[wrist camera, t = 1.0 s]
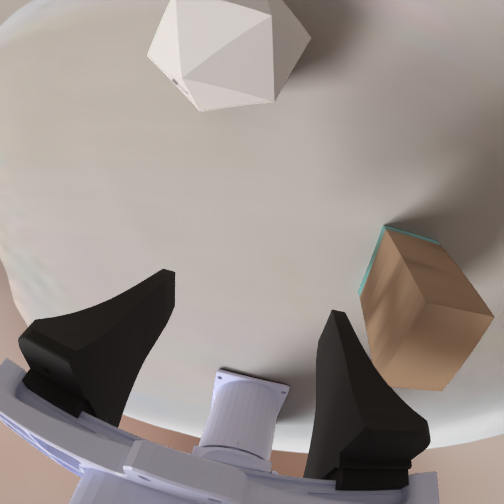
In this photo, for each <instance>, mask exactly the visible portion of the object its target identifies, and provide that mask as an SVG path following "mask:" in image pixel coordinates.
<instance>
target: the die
mask: <svg viewBox="0 0 504 504" xmlns="http://www.w3.org/2000/svg"><path fill="white" fill-rule="evenodd" d="M310 40H311V36H310V35H309V34H308V32H307V31H306V30H305V28H304V27H303V26H302V24H301V23H300V22H299V20H298V19H297V18H296V16H295V15H294V14H293V12H292V11H291V10H290V9H289V7H288V6H287V5H286V4H285V2H284V1H283V0H170V2H169V4H168V7H167V9H166V11H165V13H164V15H163V18H162V20H161V22H160V25H159V27H158V29H157V32H156V34H155V37H154V39H153V42H152V44H151V47H150V49H149V52H148V55H147V56H148V57H149V58H150V59H151V60H152V61H153V62H154V64H155V65H156V66H157V67H158V68H159V69H160V70H161V71H162V72H163V73H164V74H165V75H166V76H167V77H168V78H169V79H170V80H171V81H172V82H173V83H174V84H175V85H176V86H177V87H178V88H179V89H180V90H181V91H182V93H183V94H184V95H185V96H186V97H187V98H188V99H189V100H190V101H191V102H192V103H193V104H194V105H195V106H196V108H197V109H198V110H199V111H200V112H202V111H208V110H214V109H221V108H228V107H235V106H243V105H252V104H261V103H271V102H275V100H276V98H277V97H278V95H279V93H280V91H281V89H282V88H283V86H284V84H285V82H286V81H287V79H288V77H289V75H290V74H291V72H292V70H293V69H294V67H295V65H296V63H297V62H298V60H299V58H300V57H301V55H302V53H303V51H304V50H305V48H306V46H307V45H308V43H309V41H310Z"/></svg>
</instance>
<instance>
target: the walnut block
mask: <svg viewBox="0 0 504 504" xmlns="http://www.w3.org/2000/svg"><path fill="white" fill-rule="evenodd" d="M358 292H359V296H360V301H361V305H362V310H363V315H364V320H365V325H366V330H367V335H368V341H369V346H370V352H371V358H372V363H373V365H374V366H375V368H376V369H377V371H378V372H379V373H380V375H381V376H382V377H383V379H384V380H385V381H386V382H387V384H388V385H389V386H390V387H397V388H408V389H419V390H433V391H442V390H443V389H444V388H445V387H446V385H447V384H448V383H449V382H450V380H451V379H452V378H453V377H454V375H455V374H456V373H457V371H458V370H459V369H460V368H461V366H462V365H463V363H464V362H465V361H466V359H467V358H468V357H469V355H470V354H471V352H472V351H473V349H474V348H475V347H476V345H477V344H478V342H479V341H480V339H481V338H482V336H483V335H484V333H485V331H486V330H487V328H488V327H489V325H490V323H491V322H492V320H493V318H494V316H493V314H492V313H491V311H490V310H489V308H488V307H487V305H486V304H485V302H484V301H483V300H482V298H481V297H480V295H479V294H478V293H477V291H476V290H475V288H474V287H473V286H472V284H471V283H470V282H469V280H468V279H467V278H466V276H465V275H464V274H463V272H462V271H461V270H460V269H459V267H458V266H457V265H456V263H455V262H454V261H453V260H452V258H451V257H450V256H449V255H448V254H447V252H446V251H445V250H444V249H443V247H442V246H441V245H440V244H439V243H438V242H437V241H435V240H432V239H429V238H426V237H423V236H419V235H416V234H413V233H409V232H406V231H402V230H399V229H396V228H392V227H389V226H385V225H383V227H382V230H381V233H380V236H379V239H378V241H377V244H376V247H375V250H374V252H373V255H372V258H371V261H370V263H369V266H368V268H367V271H366V274H365V276H364V279H363V281H362V284H361V286H360V289H359V291H358Z"/></svg>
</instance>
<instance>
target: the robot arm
mask: <svg viewBox="0 0 504 504" xmlns="http://www.w3.org/2000/svg"><path fill="white" fill-rule="evenodd" d="M174 307H175V272H173V271H169V270H166V269H162V270H160V271H159V272H157V273H155V274H154V275H152V276H150V277H149V278H147V279H146V280H144V281H142V282H141V283H139V284H137V285H136V286H134V287H132V288H131V289H129V290H127V291H125V292H123V293H121V294H119V295H118V296H116V297H114V298H112V299H110V300H107V301H105V302H103V303H100V304H98V305H96V306H93V307H90V308H87V309H84V310H81V311H78V312H75V313H71V314H67V315H62V316H58V317H52V318H45V319H37V320H34V321H33V323H32V324H31V325H30V326H29V327H28V328H27V329H26V330H25V332H23V334H22V335H21V336H20V337H19V339H18V342H19V347H20V349H21V351H22V354H23V355H24V357H25V359H26V361H27V363H28V365H29V367H30V370H29V371H28V372H27V373H26V371H25V370H24V369H23V368H21V367H20V366H19V365H17V364H16V363H14V362H13V361H11V360H10V359H8V358H6V359H5V360H4V361H3V363H2V364H1V365H0V420H1V421H2V422H3V423H4V424H6V425H7V426H8V427H9V428H11V429H12V430H13V431H14V432H16V433H17V434H18V435H19V436H21V437H22V438H23V439H25V440H26V441H27V442H29V443H30V444H31V445H33V446H34V447H35V448H37V449H38V450H39V451H41V452H42V453H44V454H45V455H46V456H48V457H49V458H51V459H52V460H54V461H55V462H57V463H58V464H60V465H61V466H63V467H64V468H66V469H68V470H69V471H71V472H72V473H74V474H76V475H77V476H79V477H81V479H80V481H79V483H78V485H77V487H76V489H75V491H74V493H73V495H72V498H71V500H70V502H69V504H439V490H438V480H437V472H425V473H415V474H411V475H409V476H408V469H410V468H411V466H412V465H411V460H412V459H413V458H414V457H416V456H417V455H418V454H420V453H421V452H423V451H424V450H425V449H426V448H427V447H428V446H429V444H430V433H429V427H428V423H427V421H426V420H425V419H424V418H423V417H421V416H420V415H419V414H418V413H416V412H415V411H414V410H413V409H412V408H410V407H409V406H408V405H407V404H406V403H405V402H404V401H403V400H402V399H401V398H400V397H399V396H398V395H397V394H396V393H395V392H394V391H393V389H392V388H391V387H390V386H389V385H388V384H387V382H386V381H385V380H384V379H383V377H382V376H381V375H380V373H379V372H378V371H377V369H376V368H375V366H374V365H373V363H372V362H371V360H370V359H369V357H368V355H367V354H366V352H365V350H364V349H363V347H362V345H361V343H360V341H359V339H358V337H357V335H356V333H355V331H354V329H353V327H352V325H351V323H350V321H349V319H348V317H347V315H346V313H345V312H341V311H336V310H332V311H331V314H330V316H329V318H328V321H327V323H326V325H325V328H324V330H323V332H322V334H321V337H320V339H319V341H318V349H317V358H316V412H315V419H314V426H313V433H312V439H311V444H310V449H309V454H308V459H307V464H306V468H305V472H304V476H303V478H299V477H292V476H284V475H278V473H277V472H276V471H271V472H270V469H271V465H272V462H271V461H270V455H271V449H272V443H273V437H274V431H275V425H276V419H277V416H278V414H279V412H280V410H281V407H282V405H283V403H284V401H285V399H286V397H287V394H288V392H289V388H290V387H289V386H288V385H284V384H279V383H274V382H270V381H265V380H261V379H256V378H252V377H248V376H244V375H240V374H236V373H232V372H228V371H224V370H217V372H216V377H215V384H214V391H213V398H212V405H211V411H210V414H209V417H208V420H207V422H206V425H205V428H204V431H203V434H202V437H201V440H200V443H199V446H194V448H193V451H192V454H190V453H184V452H181V451H178V450H175V449H172V448H169V447H166V446H163V445H161V444H158V443H154V442H151V441H149V440H146V439H143V438H141V437H138V436H136V435H133V434H131V433H128V432H126V431H124V430H121V429H119V428H118V426H119V423H120V420H121V417H122V414H123V411H124V408H125V405H126V402H127V400H128V397H129V394H130V392H131V390H132V387H133V385H134V382H135V380H136V378H137V375H138V373H139V371H140V369H141V366H142V364H143V362H144V361H145V359H146V357H147V355H148V354H149V352H150V350H151V349H152V347H153V346H154V344H155V342H156V341H157V339H158V337H159V336H160V334H161V333H162V331H163V329H164V328H165V326H166V324H167V322H168V320H169V318H170V316H171V314H172V311H173V309H174ZM220 376H221V377H220Z"/></svg>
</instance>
